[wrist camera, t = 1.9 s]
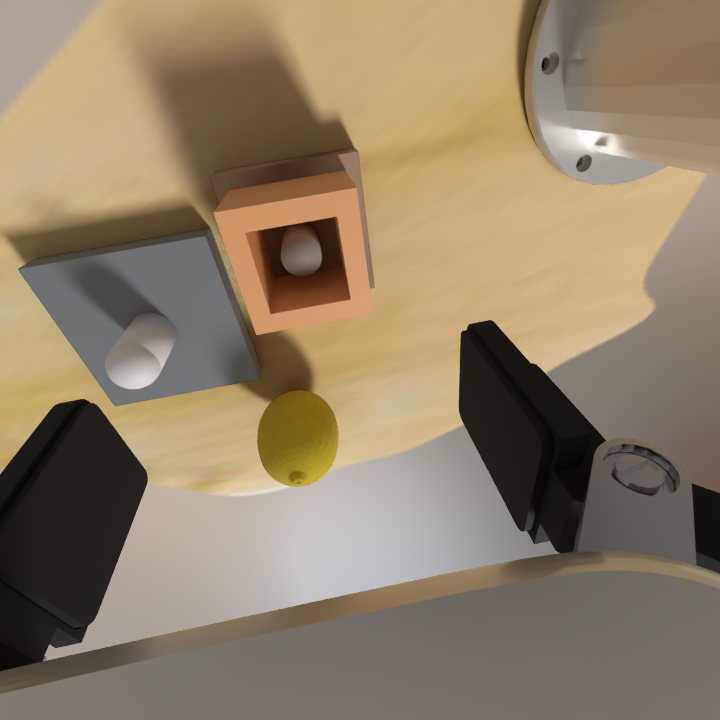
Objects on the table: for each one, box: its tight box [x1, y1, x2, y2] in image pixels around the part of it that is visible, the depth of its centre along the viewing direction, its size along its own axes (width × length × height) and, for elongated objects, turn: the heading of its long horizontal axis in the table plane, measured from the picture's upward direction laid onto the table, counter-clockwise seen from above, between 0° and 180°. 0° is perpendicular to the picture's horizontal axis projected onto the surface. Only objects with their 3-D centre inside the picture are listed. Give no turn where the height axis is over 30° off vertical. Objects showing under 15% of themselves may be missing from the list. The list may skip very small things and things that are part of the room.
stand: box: [210, 148, 375, 288], centre depth 20 cm, size 8×8×4 cm
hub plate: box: [18, 228, 261, 406], centre depth 22 cm, size 10×10×6 cm
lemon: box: [257, 390, 338, 487], centre depth 26 cm, size 6×6×8 cm
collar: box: [213, 170, 373, 335], centre depth 19 cm, size 6×6×4 cm
